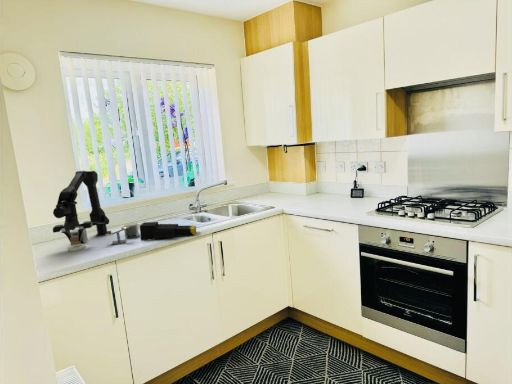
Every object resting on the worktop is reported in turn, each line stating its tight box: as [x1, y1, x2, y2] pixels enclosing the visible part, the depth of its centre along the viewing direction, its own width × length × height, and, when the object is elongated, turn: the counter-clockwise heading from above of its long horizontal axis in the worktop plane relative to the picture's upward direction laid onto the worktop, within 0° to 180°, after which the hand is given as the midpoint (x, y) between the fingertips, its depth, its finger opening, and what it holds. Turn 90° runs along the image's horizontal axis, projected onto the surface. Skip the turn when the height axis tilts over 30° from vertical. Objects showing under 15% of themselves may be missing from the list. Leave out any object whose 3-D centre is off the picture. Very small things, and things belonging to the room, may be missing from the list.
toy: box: [139, 221, 197, 241], centre depth 207 cm, size 16×8×30 cm
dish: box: [66, 243, 87, 252], centre depth 197 cm, size 9×9×1 cm
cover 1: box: [70, 228, 89, 244], centre depth 209 cm, size 7×7×7 cm
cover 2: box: [123, 222, 140, 240], centre depth 213 cm, size 7×7×7 cm
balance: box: [104, 226, 130, 246], centre depth 201 cm, size 5×13×8 cm, turn 104°
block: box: [69, 235, 82, 246], centre depth 197 cm, size 4×4×4 cm
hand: (75, 242), depth 197 cm, fingers closed on block, 4 cm apart
